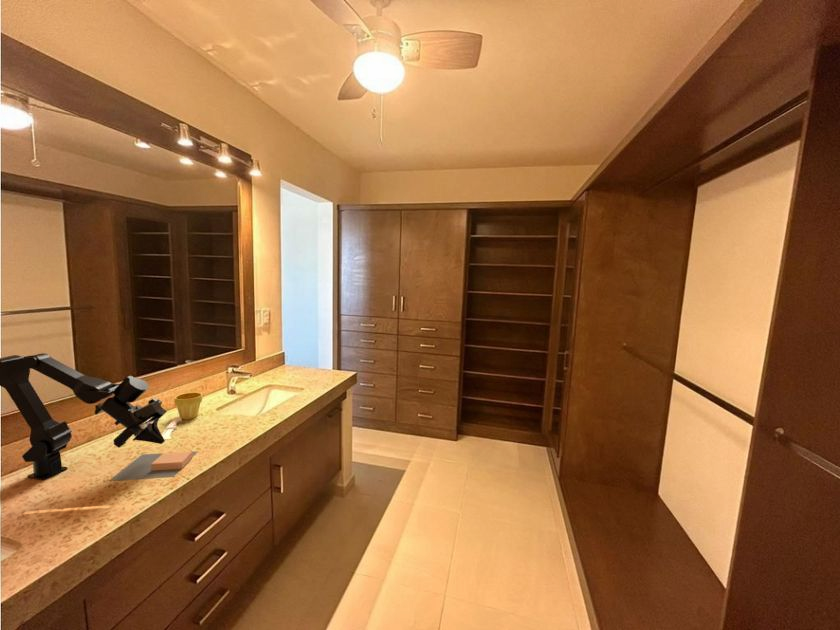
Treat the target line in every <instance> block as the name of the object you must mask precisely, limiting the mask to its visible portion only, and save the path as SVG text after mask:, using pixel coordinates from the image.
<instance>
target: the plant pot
mask: <svg viewBox="0 0 840 630" xmlns="http://www.w3.org/2000/svg"><path fill="white" fill-rule="evenodd" d="M202 401H203V394H202V393H201V392H197V391H196V392H194V391H193V392H191V391H190V392H183V393H180V394H178V395H176V396H174V405H175V406H176V409H177V412H178V416H179V418H181V419H182V420H191V419H194V418H196V417H198V415H199V410H200V405H201V403H202Z"/></svg>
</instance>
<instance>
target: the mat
mask: <svg viewBox="0 0 840 630" xmlns="http://www.w3.org/2000/svg"><path fill="white" fill-rule="evenodd" d="M192 452H193V457H195V456H196V454H197V453H198V452H199V451H198V450H197V451H192ZM163 453H164V452H161V453H148V454H147V453H146V454H141V455H139V456H138V457H137V458H136V459H134V460H133V461H132V462H131V463H129V464H128V465H127V466H125V467H124V468H123V469H121V471H119V472H118V473H117V474H115V476H113V477H112V478H110V479H109V480H108V481H109V482H115V481H129V480H132V481H133V480H145V479H146V480H147V479H159V478H162V479H164V478H174V477H175V476H176V475H177V474H179V472H180V471H181V470H182V469H166V470H151V464H152V463H153V462H154V461H155V460H156V459H157V458H159V457H160V456H161V455H162V454H163Z"/></svg>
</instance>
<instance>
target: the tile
mask: <svg viewBox="0 0 840 630" xmlns="http://www.w3.org/2000/svg"><path fill="white" fill-rule="evenodd" d="M193 452H194V451H180V452H179V451H178V452H177V451H176V452H162V453H163V454H162V455H161V456H160V457H159V458H157V459H156V460H155V461H154V462H153V463H152V464H151V470H166V469H181V470H182V469H183V468H184V467H185V466H187V464H188V463H189V462H190V461H191V460H192V459H193V457H194V456H193Z"/></svg>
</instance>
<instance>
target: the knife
mask: <svg viewBox="0 0 840 630" xmlns="http://www.w3.org/2000/svg"><path fill="white" fill-rule="evenodd" d="M182 420H183V419H181V418H180V417H174V418H173V419H172V420H171V421H170V423H169V424H168V425H167V426H166V428H165V430H164V431H163V432H162V433H161V435H162V436H163V438H164V440H166V439H168V440H169V439H172V437H171V433H172V432H174V431H175V430H174V429H176V430H178V427H177V425H178V423H180V422H182Z"/></svg>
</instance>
